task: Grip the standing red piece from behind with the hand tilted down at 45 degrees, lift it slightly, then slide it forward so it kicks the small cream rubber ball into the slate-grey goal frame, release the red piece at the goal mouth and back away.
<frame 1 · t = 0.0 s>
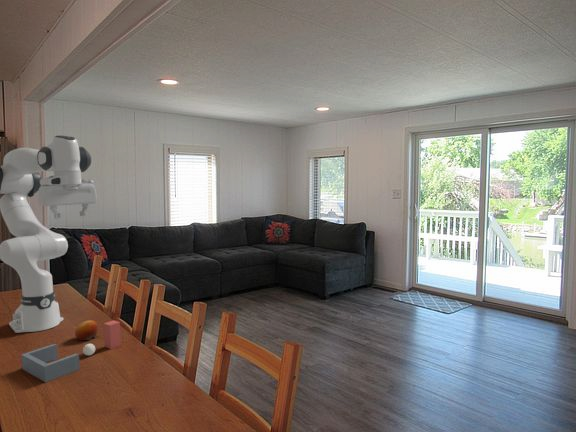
hand: (70, 217, 152), 48 cm above the table, tool pointing down, fingers open, 8 cm apart
red piece: (113, 346, 151), on the table
ball: (89, 354, 144), on the table
fruit: (87, 338, 160), on the table
goal: (53, 368, 134), on the table
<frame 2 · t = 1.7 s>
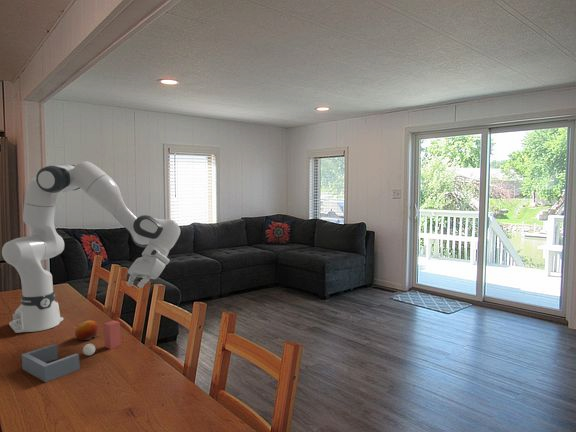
hand: (133, 286, 157), 21 cm above the table, tool tilted 40°, fingers open, 8 cm apart
nothing on the table moved.
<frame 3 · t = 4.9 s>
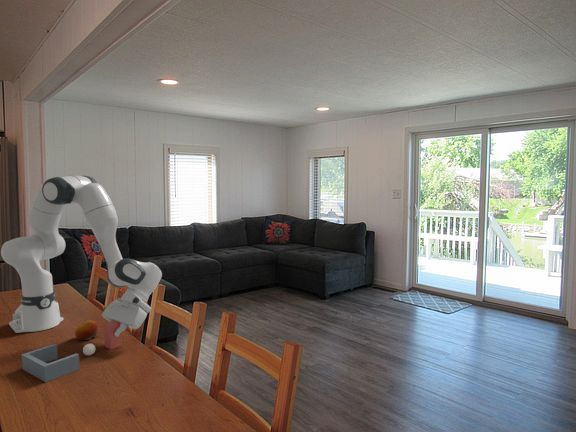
hand: (110, 334, 150), 5 cm above the table, tool tilted 45°, fingers closed on red piece, 4 cm apart
red piece: (113, 346, 151), on the table, touching gripper
everything else where it was.
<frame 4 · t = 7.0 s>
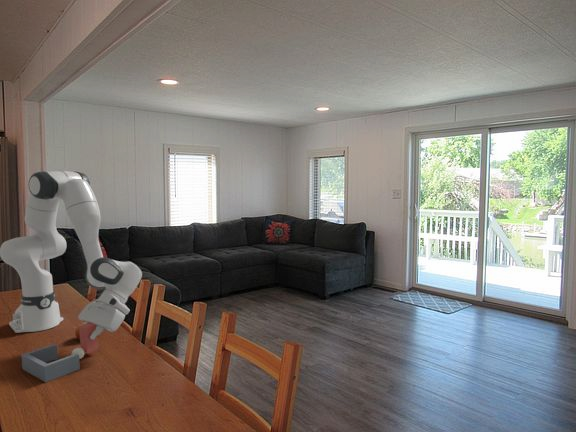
hand: (86, 337, 143), 7 cm above the table, tool tilted 45°, fingers closed on red piece, 4 cm apart
red piece: (89, 349, 144), point 2 cm above the table, touching gripper
ball: (83, 349, 142), point 3 cm above the table, tilted 114°
everything else where it was.
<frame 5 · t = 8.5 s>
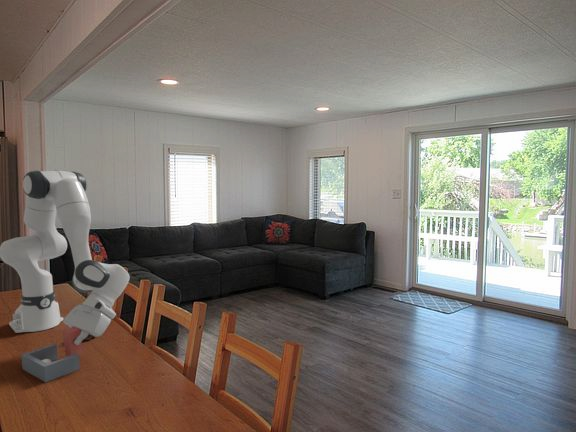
hand: (70, 342, 138), 7 cm above the table, tool tilted 45°, fingers closed on red piece, 4 cm apart
red piece: (74, 355, 140), point 2 cm above the table, touching gripper
ball: (51, 366, 133), point 1 cm above the table, tilted 62°
everything else where it was.
when the fingers open (5 cm above the table, at t = 9.1 s): red piece stays where it is, on the table.
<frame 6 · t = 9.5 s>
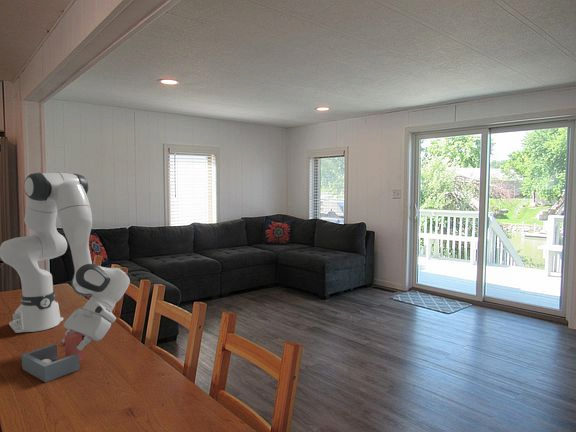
hand: (71, 346, 139), 5 cm above the table, tool tilted 45°, fingers open, 8 cm apart
red piece: (74, 360, 140), on the table
everything else where it was.
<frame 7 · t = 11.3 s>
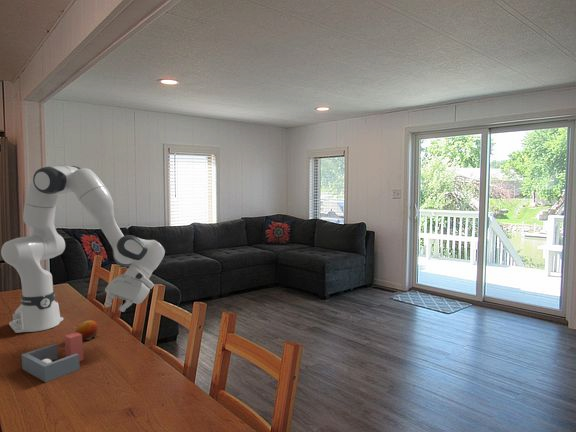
hand: (113, 308, 152), 14 cm above the table, tool tilted 45°, fingers open, 8 cm apart
nothing on the table moved.
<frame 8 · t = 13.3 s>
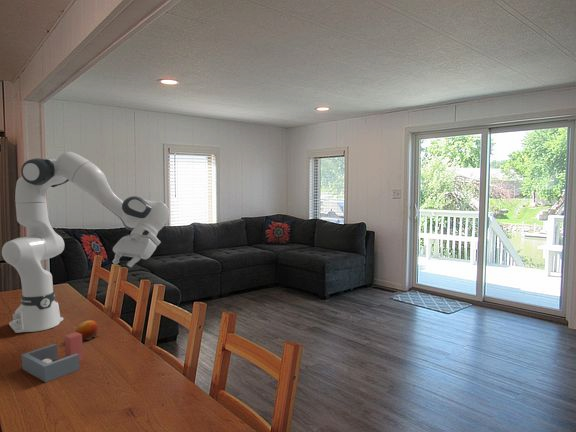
hand: (121, 264, 155), 29 cm above the table, tool tilted 45°, fingers open, 8 cm apart
nothing on the table moved.
at the end: ball inside the target area (0.8 cm from its centre), point 0.8 cm above the table; ball moved 12.9 cm from its start; the gripper is holding nothing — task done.
